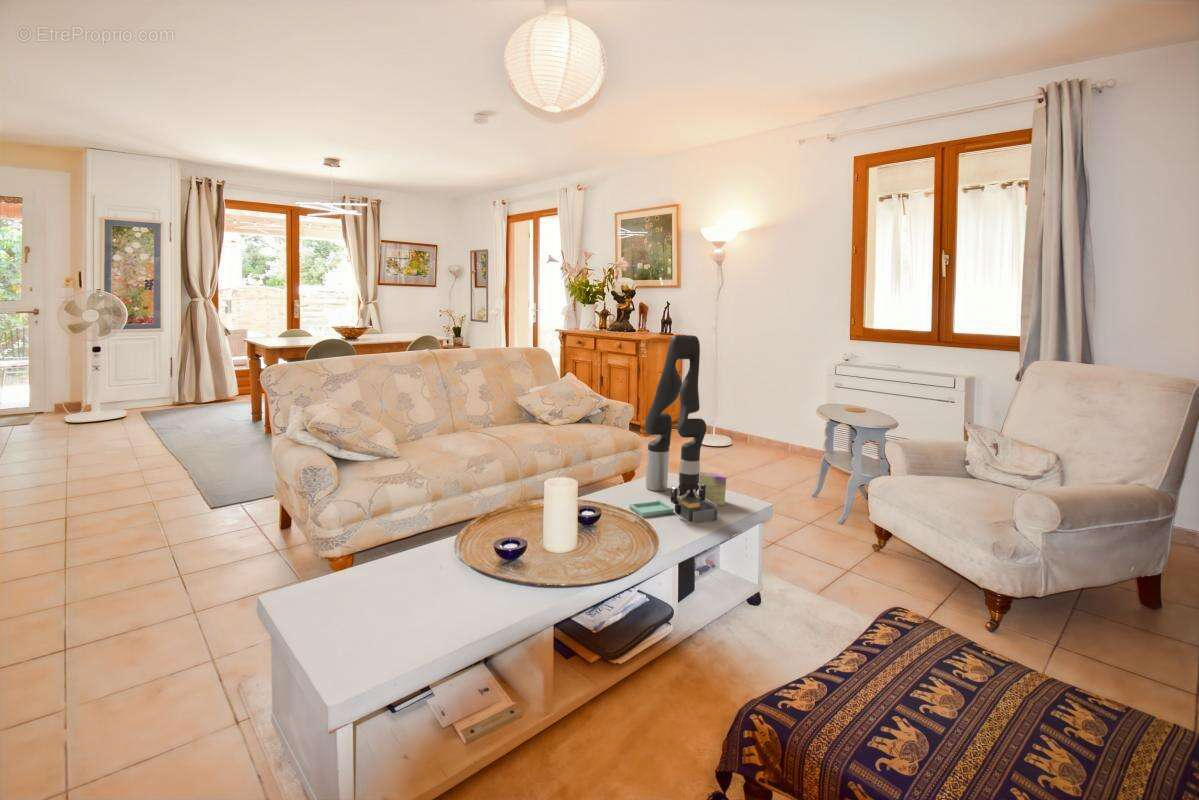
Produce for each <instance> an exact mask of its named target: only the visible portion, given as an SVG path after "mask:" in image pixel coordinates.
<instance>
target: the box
mask: <svg viewBox="0 0 1199 800" xmlns="http://www.w3.org/2000/svg"><path fill="white" fill-rule="evenodd" d="M700 484H703V485H705V486H706V489H705V499H707V500H709V501H711V502H713V503H715V504H717V505H718V506H725V505H726V503H725V502H726V491H727V490H726V489H727V488H726V487H727V476H726V474H725V473H716V472H704V471H703V472H702V471H700V474H699V484H698V485H700ZM697 494H698V495H699V491H697Z"/></svg>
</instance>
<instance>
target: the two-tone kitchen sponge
mask: <svg viewBox="0 0 1199 800" xmlns="http://www.w3.org/2000/svg"><path fill="white" fill-rule="evenodd" d="M681 497H682V495H681ZM680 505H681V514H679V515H678V514H677V513H676V512H675V514H676V515H678V516H679V517H681V518H682V519H684V520H686V521H687V522H692V519H693V512H694V511H699V507H700V501H699V500H697V499H696V498H694V497H688V498H685V499H684V500H683V501H682V503H681V504H680Z"/></svg>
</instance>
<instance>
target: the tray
mask: <svg viewBox="0 0 1199 800" xmlns="http://www.w3.org/2000/svg"><path fill="white" fill-rule="evenodd" d="M629 509H630V510H631V511H632V512H634V513H635V514H636V515H638V516H639V517H641V518H648V517H654V516H664V515H670V514H674V512H675V508H673V507H671V506H670V505H668V504H666V503H665V502H663V501H661V500H660V499H659V500H654V501H653V500H652V501H651V500H650V501H644V502H634V503H629Z"/></svg>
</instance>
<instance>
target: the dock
mask: <svg viewBox="0 0 1199 800" xmlns="http://www.w3.org/2000/svg"><path fill="white" fill-rule="evenodd" d="M718 506H719V505H717V504H715V503H713V502H711V501H709V500H707V499H705V500H704V501H703V500H702V501H701V502H700V509H699V511H694V512H693V519H692V521H691V522H692V523H693V524H697V523H704V522H710V521H711V522H712V521H717V520H718Z"/></svg>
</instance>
